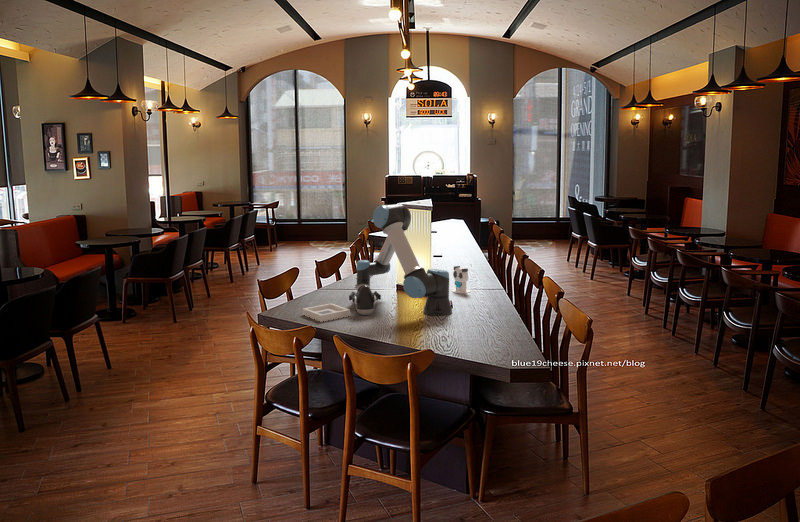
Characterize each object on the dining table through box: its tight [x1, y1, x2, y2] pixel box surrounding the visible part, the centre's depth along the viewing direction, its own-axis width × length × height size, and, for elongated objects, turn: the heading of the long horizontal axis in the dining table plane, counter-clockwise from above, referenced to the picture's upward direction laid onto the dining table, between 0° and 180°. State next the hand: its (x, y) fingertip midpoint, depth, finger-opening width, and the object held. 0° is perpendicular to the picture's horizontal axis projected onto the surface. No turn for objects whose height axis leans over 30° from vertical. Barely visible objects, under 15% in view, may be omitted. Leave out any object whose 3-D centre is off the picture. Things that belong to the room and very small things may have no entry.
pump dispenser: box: [355, 285, 376, 316], centre depth 333 cm, size 10×10×15 cm
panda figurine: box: [451, 265, 471, 294], centre depth 386 cm, size 12×11×15 cm
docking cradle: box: [302, 302, 351, 323], centre depth 330 cm, size 18×18×4 cm
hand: (365, 301), depth 329 cm, fingers closed on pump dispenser, 10 cm apart
